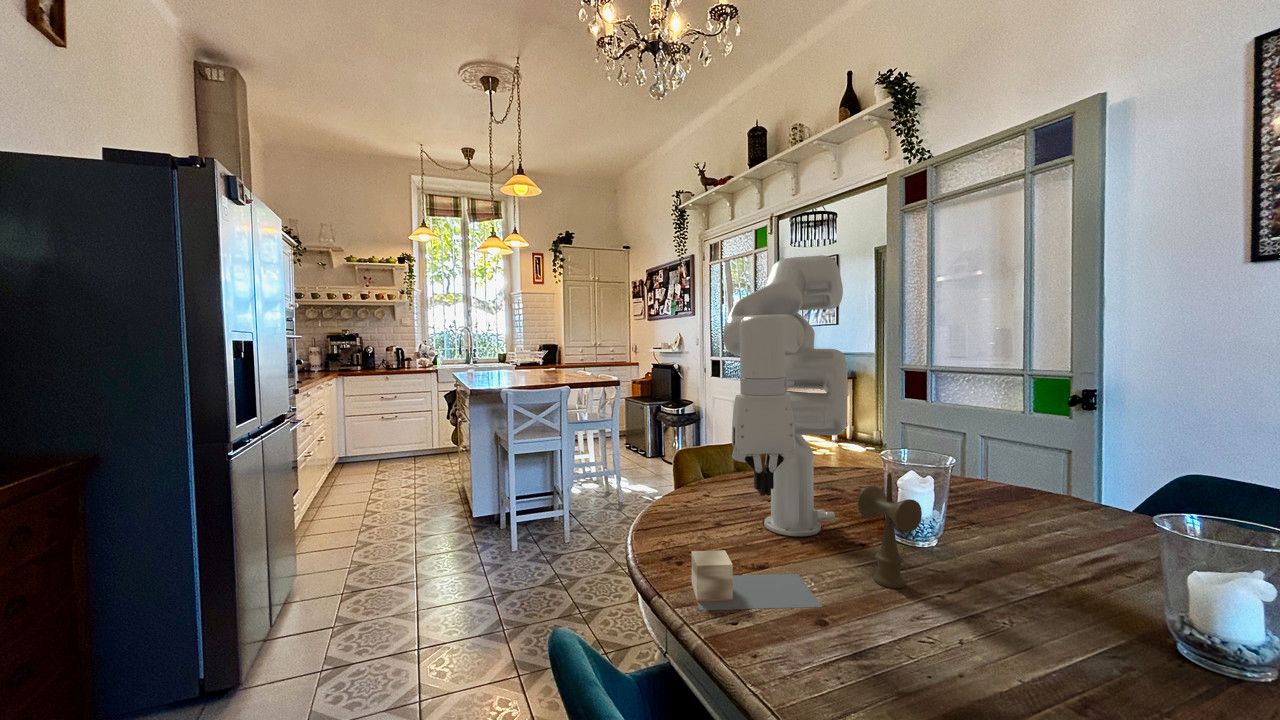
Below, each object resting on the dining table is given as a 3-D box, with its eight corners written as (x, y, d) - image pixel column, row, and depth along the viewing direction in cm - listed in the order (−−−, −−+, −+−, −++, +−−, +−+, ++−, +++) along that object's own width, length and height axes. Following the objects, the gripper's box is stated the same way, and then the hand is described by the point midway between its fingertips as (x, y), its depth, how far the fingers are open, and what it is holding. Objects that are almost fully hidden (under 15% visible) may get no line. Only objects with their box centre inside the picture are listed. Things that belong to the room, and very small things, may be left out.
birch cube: (691, 551, 92) (691, 584, 92) (696, 565, 86) (697, 601, 86) (725, 550, 92) (725, 583, 92) (732, 564, 86) (732, 600, 86)
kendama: (880, 570, 98) (881, 465, 97) (924, 593, 89) (925, 477, 88) (855, 575, 96) (855, 468, 95) (898, 599, 86) (898, 481, 86)
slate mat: (797, 576, 96) (797, 573, 96) (822, 609, 84) (822, 606, 84) (690, 578, 95) (690, 576, 95) (699, 612, 83) (699, 609, 83)
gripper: (798, 384, 92) (799, 485, 93) (715, 386, 92) (717, 488, 93) (814, 389, 85) (814, 498, 86) (723, 391, 84) (725, 501, 86)
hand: (763, 492), depth 90 cm, fingers closed
